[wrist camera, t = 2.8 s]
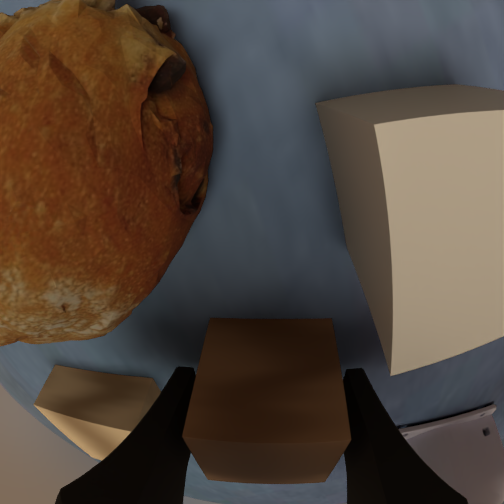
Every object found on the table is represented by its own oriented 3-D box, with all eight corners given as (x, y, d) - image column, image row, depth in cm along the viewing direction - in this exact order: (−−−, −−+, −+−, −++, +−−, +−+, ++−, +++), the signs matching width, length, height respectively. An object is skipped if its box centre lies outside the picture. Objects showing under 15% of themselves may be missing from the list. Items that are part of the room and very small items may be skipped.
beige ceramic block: (454, 84, 6) (583, 111, 2) (465, 217, 8) (552, 311, 4) (314, 102, 7) (373, 124, 3) (346, 246, 9) (390, 376, 5)
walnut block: (331, 317, 11) (351, 439, 7) (318, 385, 13) (324, 482, 9) (210, 316, 11) (181, 436, 7) (222, 384, 13) (208, 479, 9)
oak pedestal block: (154, 374, 14) (134, 432, 11) (191, 433, 17) (182, 478, 14) (57, 361, 15) (33, 404, 12) (105, 420, 18) (92, 457, 15)
